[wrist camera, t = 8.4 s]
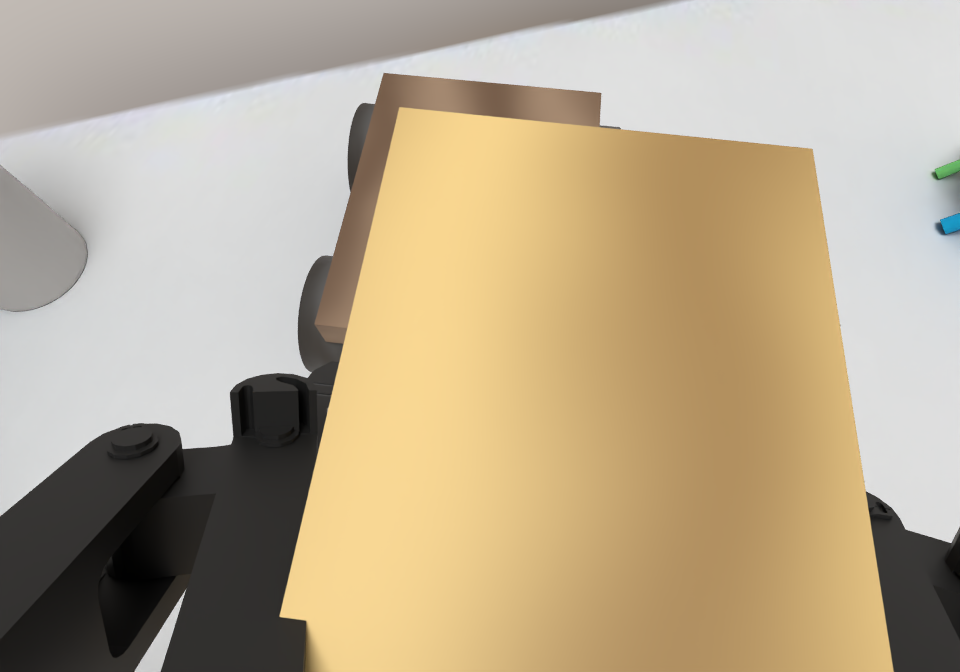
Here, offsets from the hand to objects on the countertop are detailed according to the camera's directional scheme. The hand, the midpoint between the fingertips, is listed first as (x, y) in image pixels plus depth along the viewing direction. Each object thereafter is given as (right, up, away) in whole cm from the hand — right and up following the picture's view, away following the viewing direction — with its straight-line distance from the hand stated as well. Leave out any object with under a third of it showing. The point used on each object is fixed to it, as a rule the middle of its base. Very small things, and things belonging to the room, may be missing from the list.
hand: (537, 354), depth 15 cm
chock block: (0, -5, +2) cm, 5 cm away
